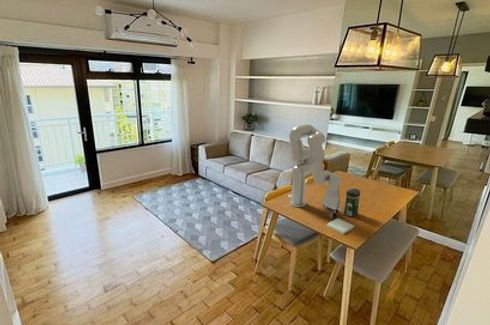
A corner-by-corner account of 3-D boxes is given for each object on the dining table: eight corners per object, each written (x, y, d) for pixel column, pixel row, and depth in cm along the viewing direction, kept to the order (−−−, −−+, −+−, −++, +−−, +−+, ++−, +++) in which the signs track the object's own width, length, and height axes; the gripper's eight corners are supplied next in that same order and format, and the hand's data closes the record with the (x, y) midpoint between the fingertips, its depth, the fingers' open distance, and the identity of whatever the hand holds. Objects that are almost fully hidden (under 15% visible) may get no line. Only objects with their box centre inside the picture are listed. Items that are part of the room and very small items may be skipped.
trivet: (326, 226, 166) (326, 223, 166) (337, 220, 173) (337, 217, 173) (343, 234, 157) (343, 232, 157) (353, 227, 164) (353, 225, 164)
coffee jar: (348, 209, 187) (351, 186, 181) (359, 213, 182) (362, 189, 176) (341, 214, 181) (344, 190, 175) (352, 218, 175) (356, 193, 170)
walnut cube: (324, 215, 179) (324, 208, 177) (329, 213, 182) (329, 205, 180) (331, 219, 174) (332, 211, 172) (336, 216, 178) (337, 208, 176)
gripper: (318, 189, 177) (316, 212, 182) (341, 197, 164) (338, 222, 169) (325, 186, 181) (323, 209, 187) (347, 194, 168) (344, 218, 174)
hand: (330, 215), depth 178 cm, fingers closed on walnut cube, 6 cm apart
